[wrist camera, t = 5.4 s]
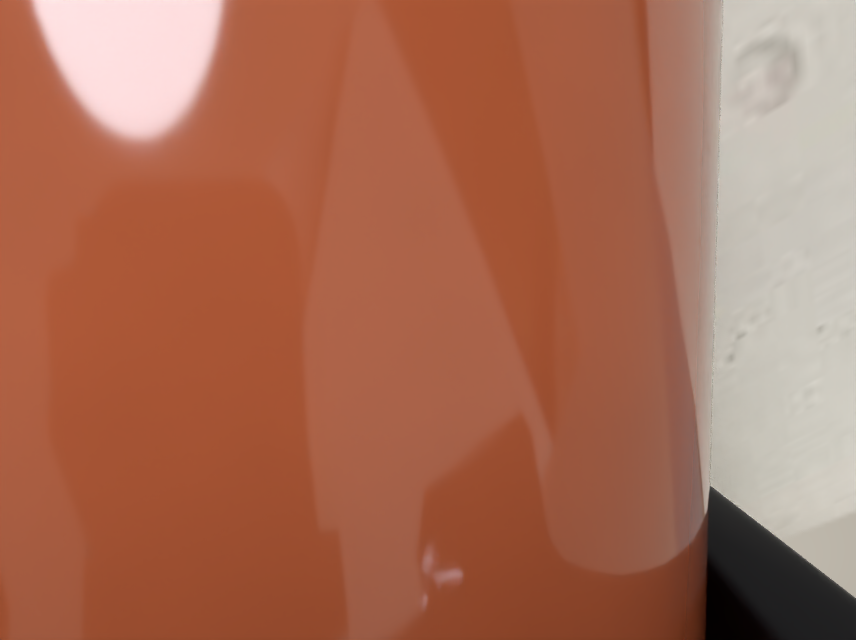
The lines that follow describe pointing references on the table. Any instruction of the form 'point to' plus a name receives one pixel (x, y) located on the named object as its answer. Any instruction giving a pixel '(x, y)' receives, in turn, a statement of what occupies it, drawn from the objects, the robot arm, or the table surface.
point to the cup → (357, 318)
